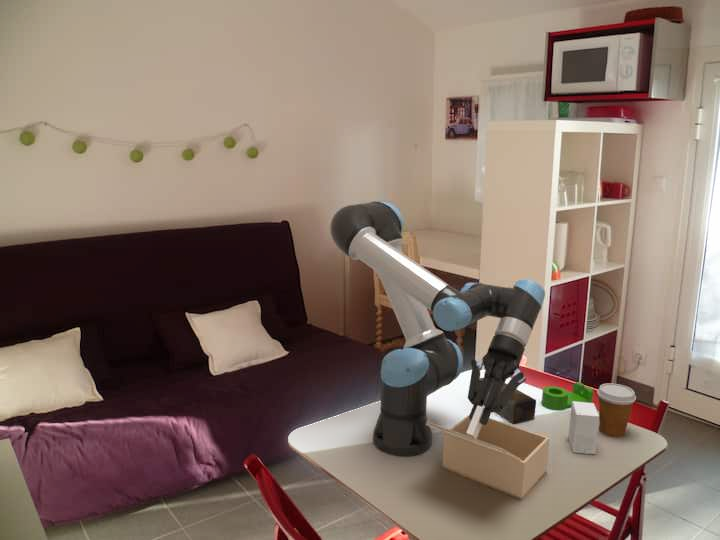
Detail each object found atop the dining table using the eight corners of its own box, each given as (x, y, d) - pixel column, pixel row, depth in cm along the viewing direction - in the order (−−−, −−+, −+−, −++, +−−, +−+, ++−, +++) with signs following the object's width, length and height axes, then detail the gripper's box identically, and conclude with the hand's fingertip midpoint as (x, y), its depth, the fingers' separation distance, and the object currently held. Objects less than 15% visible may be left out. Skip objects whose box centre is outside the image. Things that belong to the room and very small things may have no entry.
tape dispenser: (552, 413, 173) (554, 398, 172) (536, 403, 179) (537, 388, 178) (592, 404, 179) (594, 389, 178) (575, 394, 185) (576, 380, 184)
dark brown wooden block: (493, 393, 185) (494, 373, 184) (536, 420, 168) (538, 398, 167) (471, 397, 182) (473, 377, 180) (513, 426, 165) (515, 403, 163)
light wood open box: (442, 467, 144) (444, 433, 142) (470, 444, 154) (472, 412, 152) (521, 500, 132) (524, 463, 130) (546, 472, 142) (549, 437, 140)
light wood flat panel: (447, 435, 141) (425, 424, 132) (448, 432, 141) (426, 421, 132) (520, 461, 130) (501, 452, 121) (521, 458, 130) (502, 448, 121)
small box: (595, 455, 150) (600, 416, 148) (572, 452, 151) (576, 414, 149) (590, 439, 158) (594, 402, 155) (568, 437, 159) (571, 400, 156)
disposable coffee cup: (632, 442, 156) (638, 400, 154) (593, 436, 159) (597, 394, 157) (630, 426, 165) (635, 385, 162) (593, 420, 168) (597, 380, 165)
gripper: (540, 355, 137) (504, 452, 128) (488, 342, 145) (450, 433, 136) (533, 339, 132) (494, 439, 123) (479, 327, 139) (439, 420, 130)
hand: (471, 436), depth 129 cm, fingers closed
